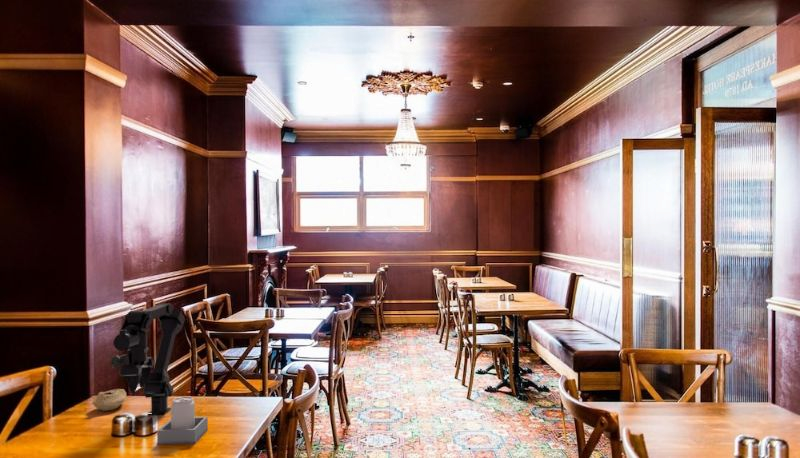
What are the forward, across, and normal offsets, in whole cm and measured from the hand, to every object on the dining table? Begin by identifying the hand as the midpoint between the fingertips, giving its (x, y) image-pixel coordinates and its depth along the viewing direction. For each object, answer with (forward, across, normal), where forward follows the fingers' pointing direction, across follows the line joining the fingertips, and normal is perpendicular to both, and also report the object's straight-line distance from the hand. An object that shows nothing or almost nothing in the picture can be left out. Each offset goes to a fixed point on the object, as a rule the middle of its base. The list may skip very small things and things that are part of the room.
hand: (137, 390), depth 184 cm
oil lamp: (+12, -25, -18) cm, 33 cm away
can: (+13, +13, +19) cm, 26 cm away
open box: (+13, +13, +19) cm, 26 cm away
